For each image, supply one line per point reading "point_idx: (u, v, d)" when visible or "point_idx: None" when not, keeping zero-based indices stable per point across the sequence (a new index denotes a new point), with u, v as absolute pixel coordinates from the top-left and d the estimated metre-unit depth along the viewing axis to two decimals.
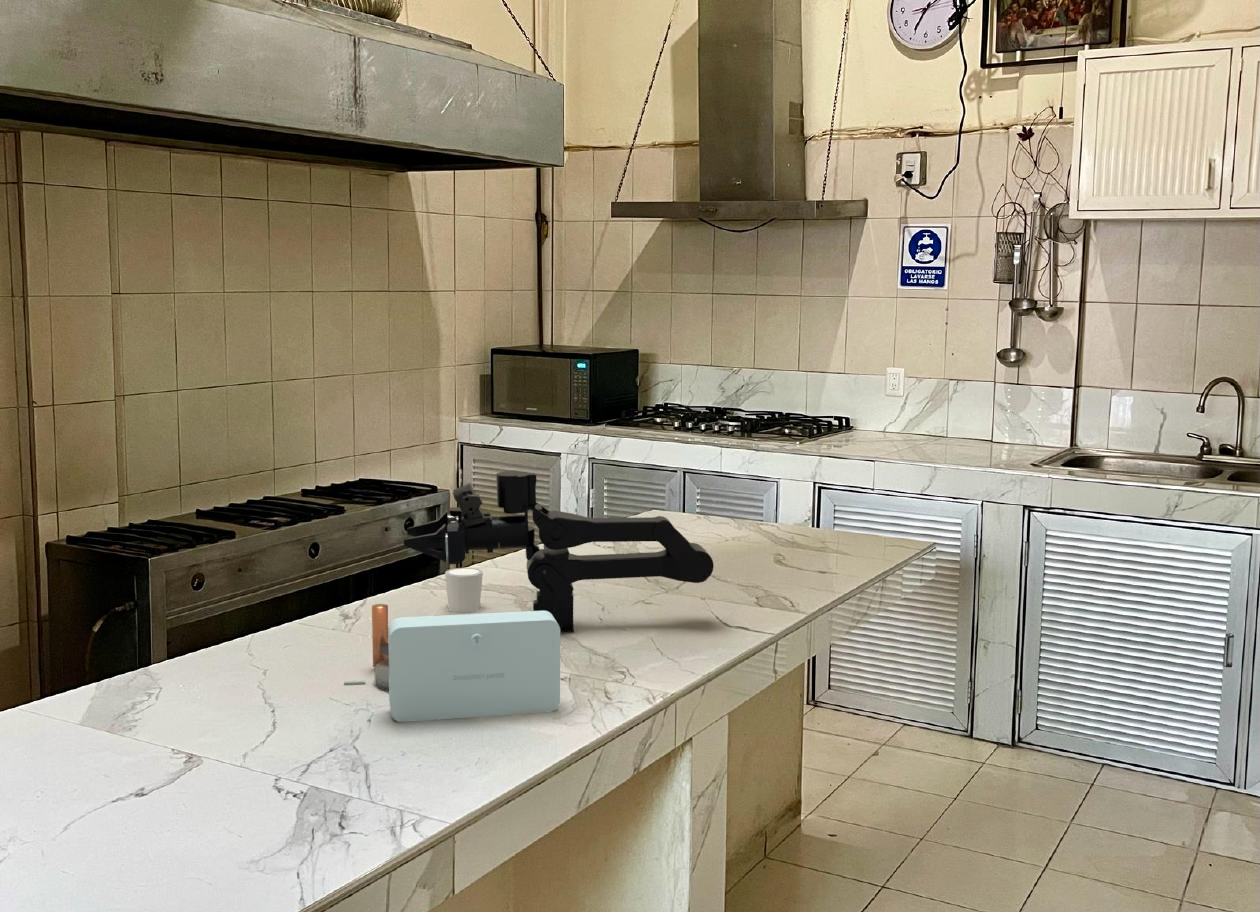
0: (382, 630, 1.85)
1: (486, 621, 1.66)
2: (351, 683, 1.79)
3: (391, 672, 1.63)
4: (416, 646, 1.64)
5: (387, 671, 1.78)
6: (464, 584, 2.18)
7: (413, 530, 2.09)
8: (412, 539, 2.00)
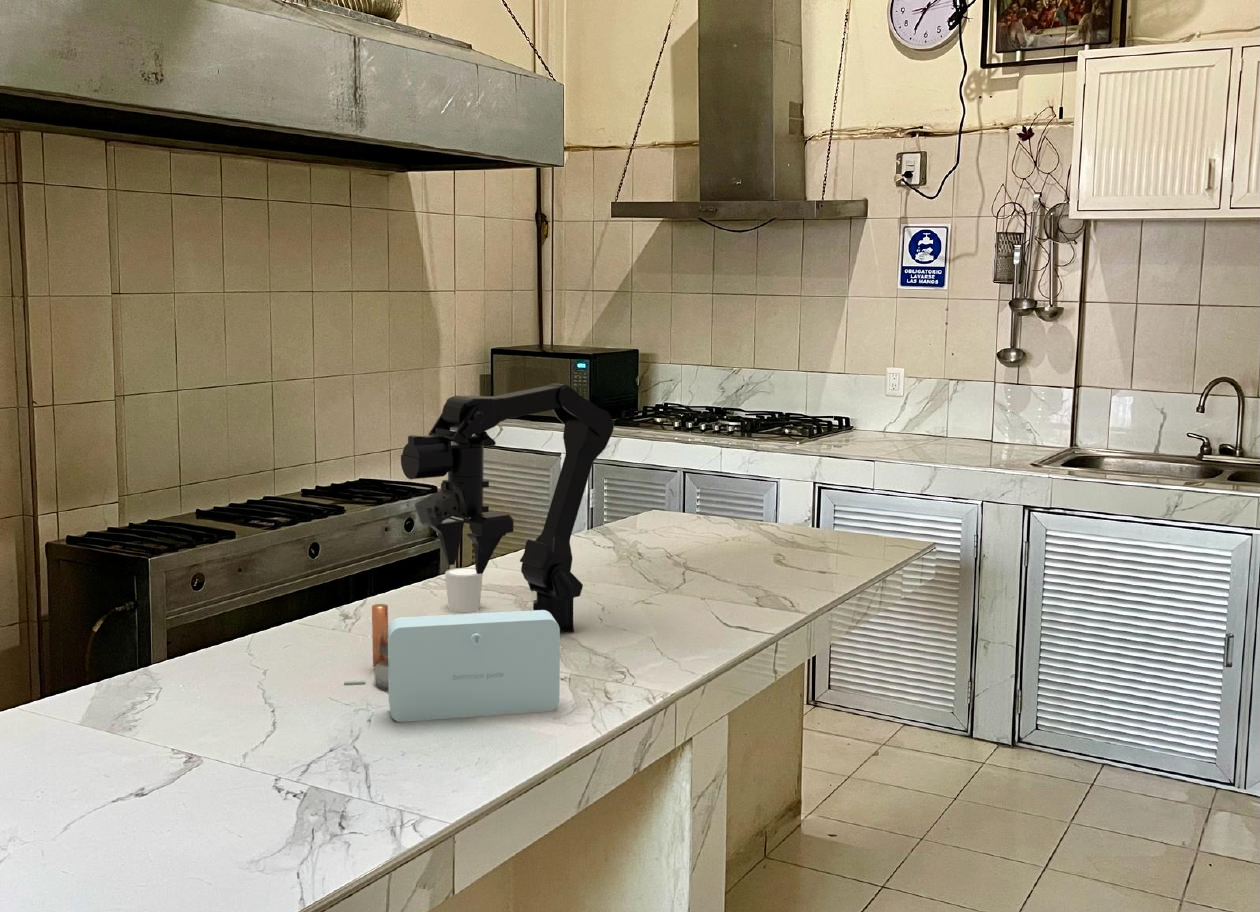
0: (382, 630, 1.85)
1: (486, 621, 1.66)
2: (351, 683, 1.79)
3: (391, 672, 1.63)
4: (416, 646, 1.64)
5: (387, 671, 1.78)
6: (464, 584, 2.18)
7: (451, 558, 1.99)
8: (478, 565, 1.93)
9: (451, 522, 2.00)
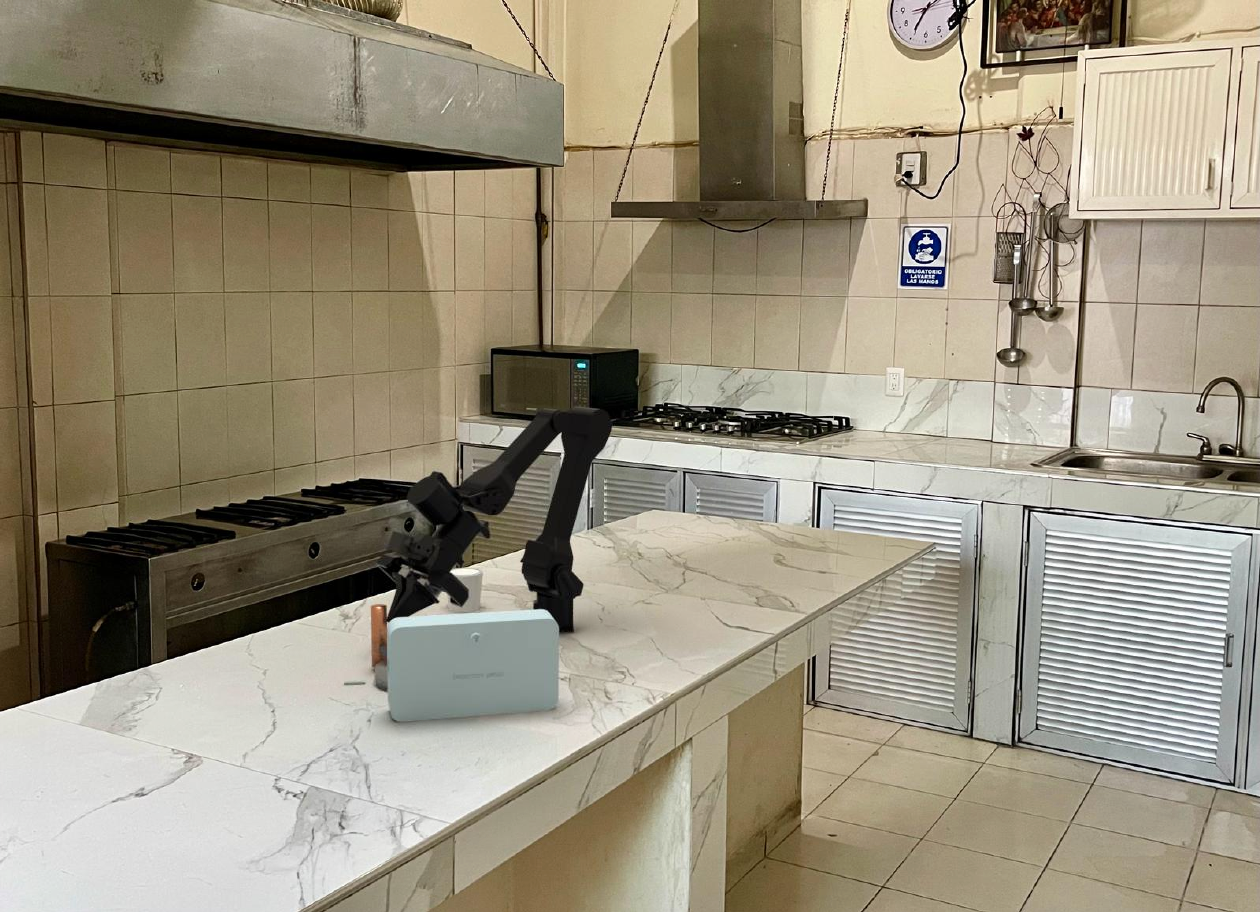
0: (381, 630, 1.85)
1: (485, 620, 1.66)
2: (351, 683, 1.79)
3: (391, 672, 1.63)
4: (416, 646, 1.64)
5: None
6: (464, 584, 2.18)
7: None
8: (395, 614, 1.85)
9: None
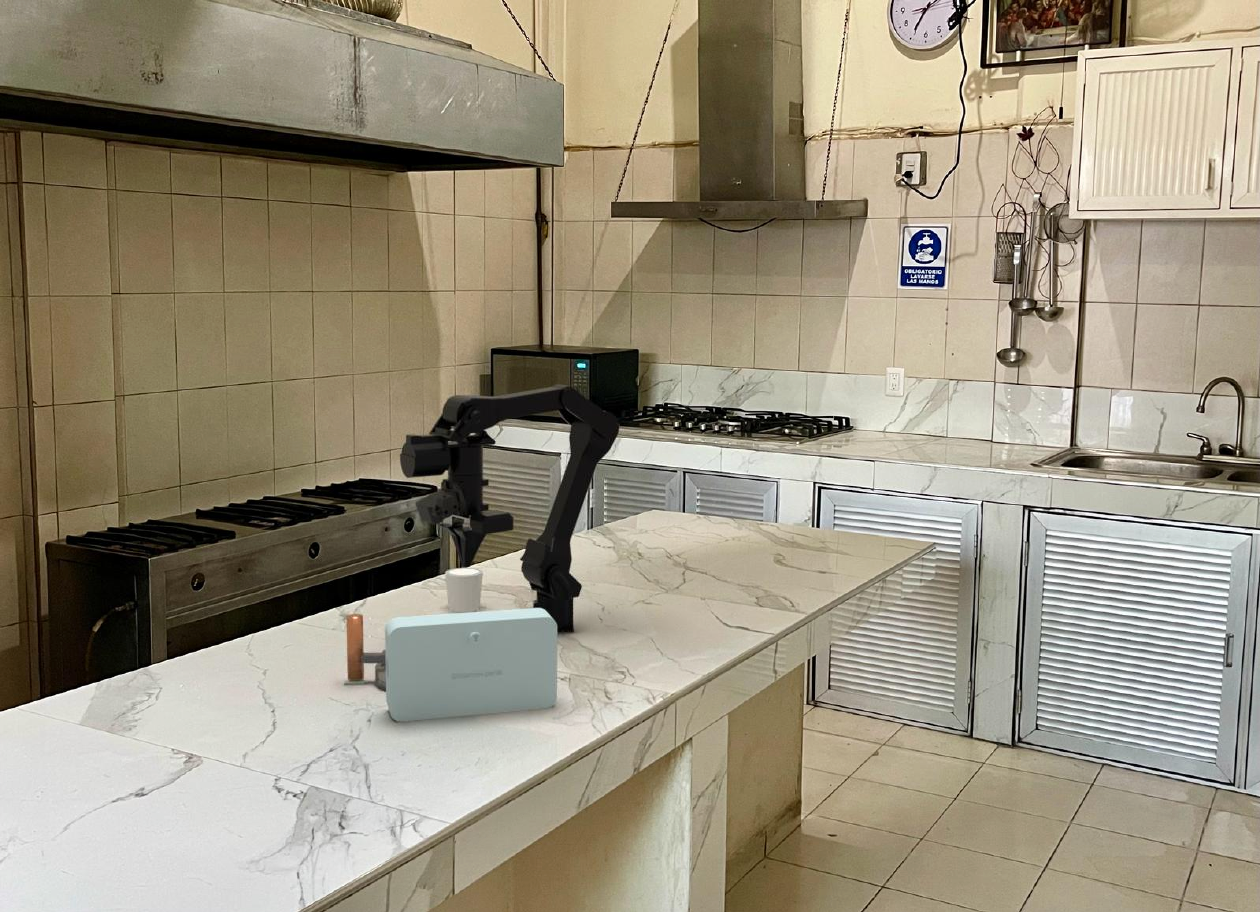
0: (362, 640, 1.80)
1: (484, 619, 1.67)
2: (351, 683, 1.79)
3: (390, 672, 1.63)
4: (415, 646, 1.64)
5: None
6: (464, 584, 2.18)
7: None
8: (465, 559, 1.97)
9: None
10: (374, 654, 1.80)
